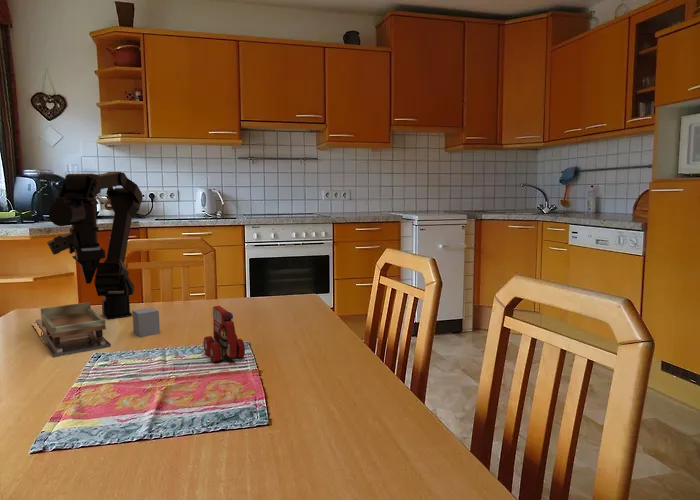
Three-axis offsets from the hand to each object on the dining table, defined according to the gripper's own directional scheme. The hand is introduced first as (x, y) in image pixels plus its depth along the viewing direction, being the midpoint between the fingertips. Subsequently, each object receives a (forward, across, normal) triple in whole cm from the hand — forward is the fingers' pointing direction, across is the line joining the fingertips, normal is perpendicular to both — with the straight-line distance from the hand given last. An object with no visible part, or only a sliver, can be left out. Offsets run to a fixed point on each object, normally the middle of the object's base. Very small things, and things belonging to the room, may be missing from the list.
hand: (88, 283), depth 137 cm
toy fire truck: (+13, +40, +21) cm, 47 cm away
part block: (+12, +12, +11) cm, 21 cm away
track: (+12, +2, -6) cm, 14 cm away
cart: (+11, +10, -5) cm, 15 cm away
